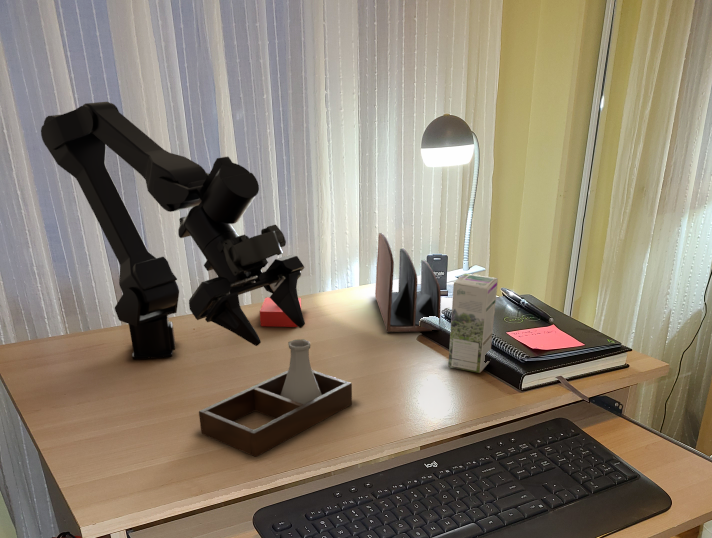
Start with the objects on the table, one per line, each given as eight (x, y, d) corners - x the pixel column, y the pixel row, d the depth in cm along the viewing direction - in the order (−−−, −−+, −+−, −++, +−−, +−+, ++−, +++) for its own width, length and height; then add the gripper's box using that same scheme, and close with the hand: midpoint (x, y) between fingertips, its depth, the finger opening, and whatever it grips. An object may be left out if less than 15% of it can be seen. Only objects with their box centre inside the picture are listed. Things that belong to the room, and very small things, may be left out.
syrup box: (490, 361, 130) (499, 276, 122) (479, 374, 125) (487, 286, 117) (458, 356, 132) (465, 271, 124) (446, 368, 127) (452, 281, 119)
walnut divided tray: (201, 433, 107) (198, 411, 105) (299, 385, 121) (298, 365, 119) (255, 457, 102) (253, 433, 100) (352, 404, 115) (352, 383, 113)
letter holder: (386, 333, 140) (388, 255, 133) (374, 298, 157) (375, 227, 149) (440, 332, 141) (445, 254, 134) (423, 297, 158) (426, 226, 150)
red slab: (297, 326, 142) (295, 293, 139) (260, 326, 143) (258, 292, 139) (301, 312, 149) (300, 279, 146) (266, 311, 149) (264, 279, 146)
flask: (288, 421, 110) (284, 356, 105) (270, 401, 116) (266, 338, 110) (334, 411, 113) (333, 347, 108) (314, 393, 119) (312, 330, 113)
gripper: (192, 220, 98) (261, 322, 98) (291, 196, 110) (352, 287, 111) (160, 271, 106) (224, 365, 106) (256, 243, 119) (313, 328, 119)
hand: (281, 334), depth 110 cm, fingers open, 9 cm apart
